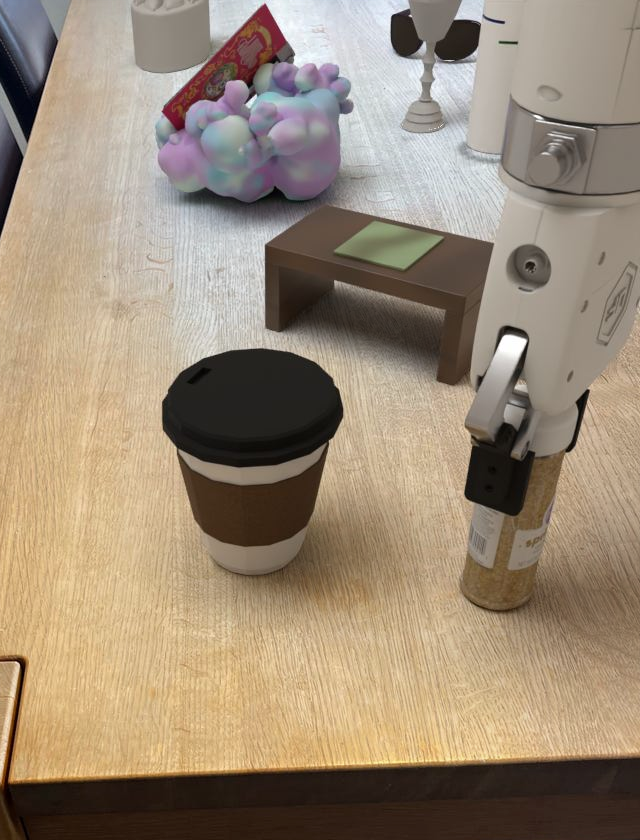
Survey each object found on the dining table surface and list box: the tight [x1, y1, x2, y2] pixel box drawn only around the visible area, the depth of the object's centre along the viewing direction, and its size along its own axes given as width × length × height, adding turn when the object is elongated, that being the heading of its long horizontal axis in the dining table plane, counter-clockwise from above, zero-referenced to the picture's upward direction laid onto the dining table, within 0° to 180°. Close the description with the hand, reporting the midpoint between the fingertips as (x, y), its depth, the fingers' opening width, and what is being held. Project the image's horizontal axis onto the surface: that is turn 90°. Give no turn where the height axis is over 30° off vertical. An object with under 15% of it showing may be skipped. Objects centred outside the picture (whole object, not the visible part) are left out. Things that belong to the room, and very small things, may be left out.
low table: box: [264, 203, 495, 386], centre depth 83 cm, size 18×9×8 cm, turn 51°
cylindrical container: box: [465, 0, 525, 155], centre depth 104 cm, size 7×7×25 cm
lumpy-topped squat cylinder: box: [130, 0, 212, 74], centre depth 140 cm, size 10×13×9 cm
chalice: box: [400, 0, 463, 134], centre depth 111 cm, size 7×7×18 cm
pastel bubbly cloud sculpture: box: [154, 2, 355, 204], centre depth 104 cm, size 20×22×18 cm
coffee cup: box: [161, 347, 344, 576], centre depth 63 cm, size 11×11×12 cm
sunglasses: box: [389, 7, 481, 62], centre depth 136 cm, size 14×16×5 cm
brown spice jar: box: [459, 383, 578, 611], centre depth 58 cm, size 5×5×13 cm
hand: (520, 471), depth 57 cm, fingers open, 6 cm apart
